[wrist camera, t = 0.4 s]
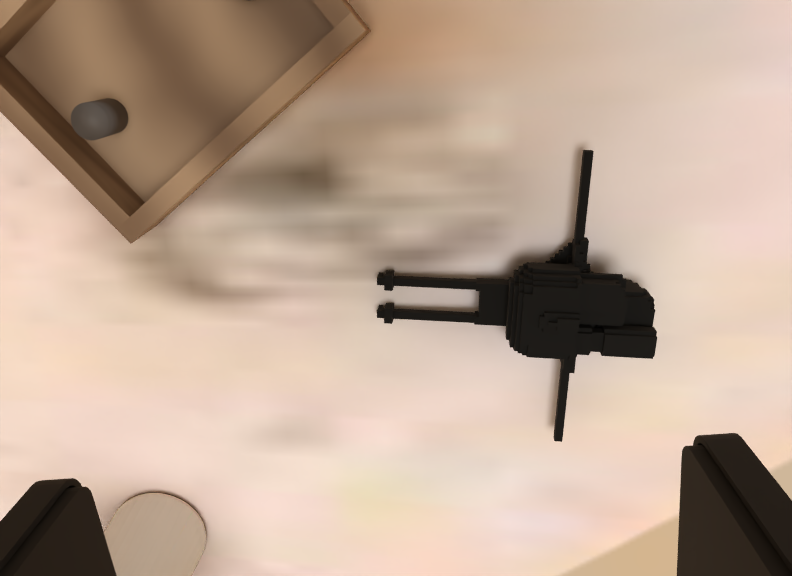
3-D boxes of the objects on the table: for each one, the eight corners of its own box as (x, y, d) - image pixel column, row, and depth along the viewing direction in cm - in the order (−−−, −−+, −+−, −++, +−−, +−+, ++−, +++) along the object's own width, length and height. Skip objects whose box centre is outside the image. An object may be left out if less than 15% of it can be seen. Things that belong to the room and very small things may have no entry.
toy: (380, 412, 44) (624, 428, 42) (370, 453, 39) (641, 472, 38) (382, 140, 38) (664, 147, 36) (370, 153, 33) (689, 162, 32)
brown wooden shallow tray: (202, -181, 32) (177, -206, 29) (370, 31, 35) (365, 30, 32) (-12, 53, 36) (-56, 54, 33) (155, 226, 39) (130, 243, 35)
